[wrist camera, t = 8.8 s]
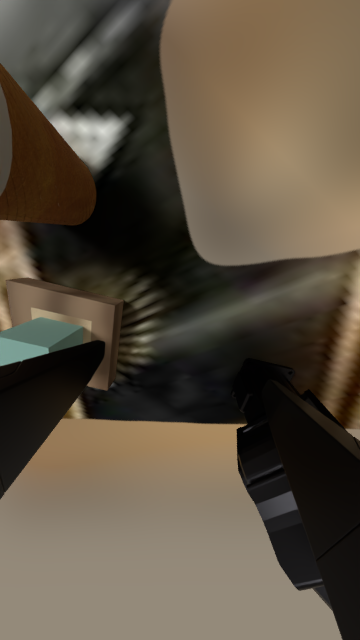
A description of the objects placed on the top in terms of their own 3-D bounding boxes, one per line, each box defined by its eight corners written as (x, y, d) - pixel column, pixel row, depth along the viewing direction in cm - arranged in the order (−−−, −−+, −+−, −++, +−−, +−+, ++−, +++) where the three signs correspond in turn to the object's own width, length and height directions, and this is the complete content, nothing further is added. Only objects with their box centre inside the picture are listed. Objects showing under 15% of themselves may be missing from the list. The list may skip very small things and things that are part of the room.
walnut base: (123, 300, 21) (114, 305, 18) (115, 378, 25) (107, 390, 22) (27, 277, 20) (5, 280, 18) (35, 359, 25) (18, 370, 22)
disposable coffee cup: (79, 260, 19) (-77, 263, 8) (4, 191, 17) (-336, 68, 6) (131, 189, 17) (5, 45, 5) (49, 98, 15) (-407, -417, 4)
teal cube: (83, 326, 19) (48, 347, 15) (82, 362, 21) (51, 391, 16) (40, 316, 19) (-9, 335, 15) (43, 353, 21) (0, 380, 16)
